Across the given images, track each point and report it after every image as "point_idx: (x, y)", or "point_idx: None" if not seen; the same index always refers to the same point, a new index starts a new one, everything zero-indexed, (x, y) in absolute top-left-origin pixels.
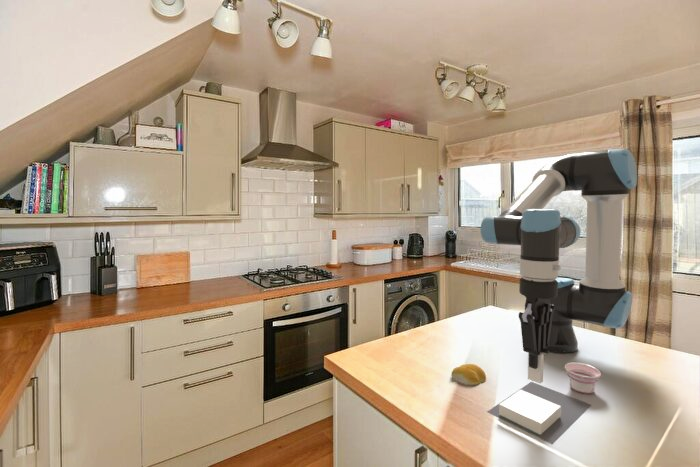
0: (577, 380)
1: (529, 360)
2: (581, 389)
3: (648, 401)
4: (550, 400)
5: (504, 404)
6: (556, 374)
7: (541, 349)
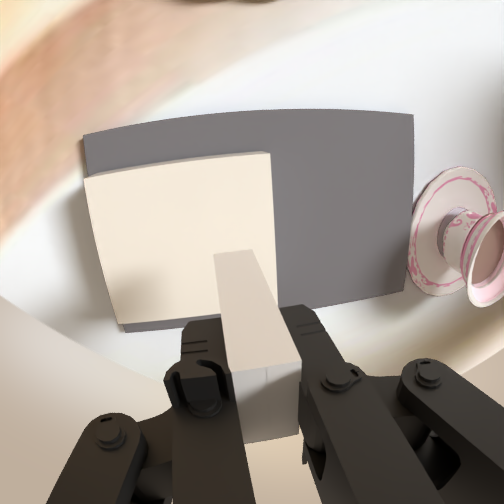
0: (462, 256)
1: (181, 359)
2: (447, 254)
3: (478, 325)
4: (346, 215)
5: (98, 190)
6: (494, 149)
7: (304, 447)
